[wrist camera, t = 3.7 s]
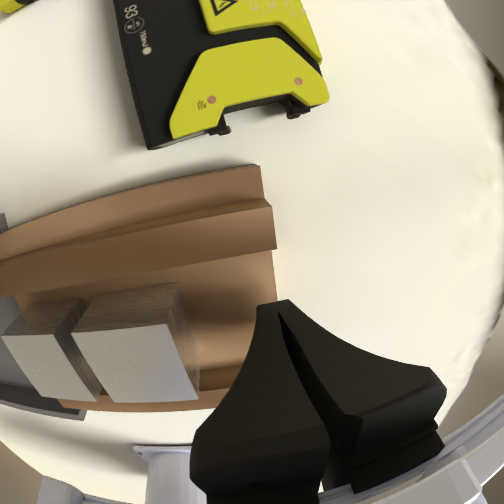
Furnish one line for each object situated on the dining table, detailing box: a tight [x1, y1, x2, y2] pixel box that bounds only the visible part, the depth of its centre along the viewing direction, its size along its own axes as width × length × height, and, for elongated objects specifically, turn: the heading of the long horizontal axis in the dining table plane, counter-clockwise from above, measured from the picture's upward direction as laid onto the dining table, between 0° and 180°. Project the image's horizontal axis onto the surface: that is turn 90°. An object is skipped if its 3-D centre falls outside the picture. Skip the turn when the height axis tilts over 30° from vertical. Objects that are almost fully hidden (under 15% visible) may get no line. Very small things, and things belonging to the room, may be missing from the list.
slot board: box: [0, 164, 277, 412], centre depth 12 cm, size 12×14×3 cm
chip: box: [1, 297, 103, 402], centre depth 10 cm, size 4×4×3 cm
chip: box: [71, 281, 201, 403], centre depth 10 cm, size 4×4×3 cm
